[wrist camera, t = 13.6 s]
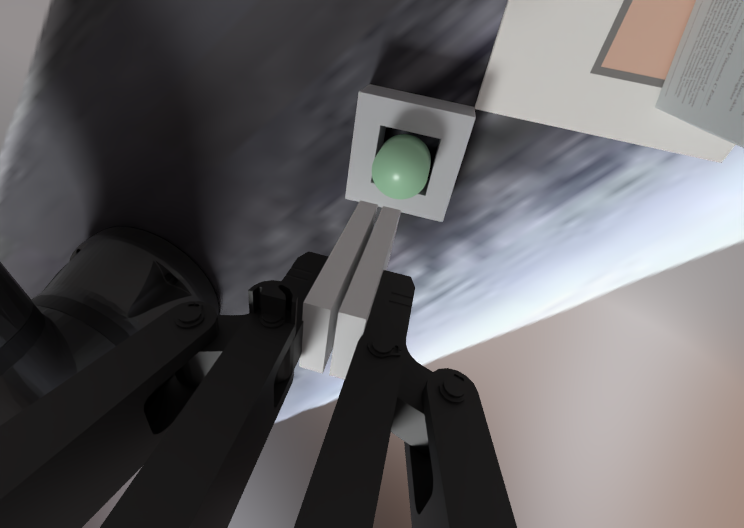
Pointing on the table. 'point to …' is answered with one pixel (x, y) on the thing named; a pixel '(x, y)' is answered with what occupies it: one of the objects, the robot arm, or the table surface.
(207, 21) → the table surface
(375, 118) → the button box
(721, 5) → the small box
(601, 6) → the sheet
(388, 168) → the button
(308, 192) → the table surface
